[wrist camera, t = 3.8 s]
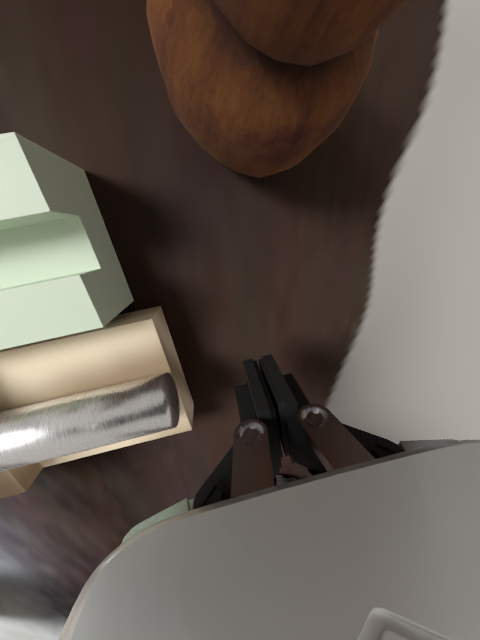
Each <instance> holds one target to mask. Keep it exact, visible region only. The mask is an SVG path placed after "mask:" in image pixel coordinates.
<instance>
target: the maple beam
mask: <svg viewBox="0 0 480 640" xmlns="http://www.w3.org/2000/svg"><path fill="white" fill-rule="evenodd" d="M163 373H170V374H171V376H172V377H173V379H174V381H175V384H176V387H177V391H178V397H179V406H180V415H179V422H178V425H177V427H176V428H173V429H169V430H165V431H161V432H157V433H153V434H149V435H145V436H141V437H137V438H133V439H129V440H125V441H121V442H118V443H114V444H110V445H106V446H102V447H98V448H94V449H90V450H86V451H82V452H78V453H74V454H70V455H66V456H62V457H58V458H54V459H50V460H46V461H42V462H38V463H34V464H31V465H27V466H23V467H19V468H15V469H11V470H7V471H3V472H0V498H4V497H8V496H12V495H16V494H19V493H23V492H26V491H27V490H28V488H29V487H30V486H31V484H32V483H33V481H34V480H35V478H36V477H37V476H38V474H39V473H40V471H41V470H42V469H43V468H44V467H48V466H52V465H56V464H59V463H63V462H67V461H71V460H75V459H79V458H83V457H87V456H91V455H95V454H99V453H103V452H106V451H110V450H114V449H118V448H122V447H126V446H130V445H134V444H138V443H142V442H146V441H150V440H154V439H157V438H161V437H165V436H169V435H173V434H177V433H181V432H185V431H189V430H192V422H193V409H194V403H193V400H192V397H191V394H190V391H189V388H188V385H187V382H186V379H185V376H184V374H183V371H182V368H181V365H180V362H179V359H178V356H177V353H176V350H175V347H174V344H173V341H172V338H171V335H170V332H169V329H168V326H167V323H166V320H165V317H164V314H163V311H162V308H161V306H157V307H153V308H148V309H144V310H139V311H134V312H130V313H125V314H121V315H117V316H116V317H114V318H113V319H112V320H111V321H110V322H109V323H108V324H106V325H105V326H104V327H102V328H97V329H93V330H88V331H84V332H79V333H75V334H70V335H66V336H61V337H56V338H52V339H47V340H43V341H38V342H34V343H29V344H25V345H20V346H16V347H11V348H6V349H2V350H0V412H3V411H7V410H11V409H15V408H19V407H24V406H28V405H32V404H36V403H41V402H45V401H49V400H53V399H57V398H62V397H66V396H70V395H74V394H79V393H83V392H87V391H91V390H96V389H100V388H104V387H108V386H112V385H117V384H121V383H125V382H129V381H134V380H138V379H142V378H146V377H150V376H155V375H159V374H163Z"/></svg>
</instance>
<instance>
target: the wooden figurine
mask: <svg viewBox="0 0 480 640" xmlns="http://www.w3.org/2000/svg"><path fill="white" fill-rule="evenodd" d="M409 1H410V0H147V19H148V24H149V29H150V34H151V38H152V43H153V47H154V50H155V54H156V57H157V61H158V64H159V68H160V71H161V75H162V78H163V82H164V85H165V89H166V92H167V95H168V98H169V101H170V104H171V107H172V110H173V111H174V113H175V114H176V116H177V117H178V119H179V120H180V122H181V123H182V124H183V126H184V127H185V128H186V130H187V131H188V132H189V133H190V135H191V136H192V137H193V138H194V140H195V141H196V142H197V144H198V145H199V146H200V147H201V148H202V149H203V150H205V151H206V152H207V153H208V154H209V155H210V156H212V157H213V158H214V159H215V160H216V161H218V162H219V163H221V164H222V165H224V166H226V167H228V168H229V169H231V170H233V171H235V172H237V173H241V174H245V175H249V176H253V177H256V178H262V177H266V176H269V175H272V174H275V173H278V172H281V171H284V170H288V169H290V168H292V167H293V166H295V165H297V164H298V163H300V162H301V161H302V160H303V159H304V158H305V157H306V156H308V155H309V154H310V153H311V152H312V151H313V150H314V149H315V148H316V147H317V146H319V145H320V144H321V143H322V142H323V141H324V140H325V139H326V138H327V137H328V136H330V135H331V134H332V133H333V132H334V131H335V130H336V129H337V128H338V127H339V125H340V124H341V122H342V121H343V119H344V118H345V116H346V115H347V113H348V111H349V110H350V108H351V106H352V104H353V102H354V101H355V99H356V97H357V95H358V93H359V91H360V89H361V87H362V85H363V83H364V82H365V80H366V78H367V76H368V74H369V72H370V69H371V65H372V61H373V57H374V52H375V48H376V44H377V39H378V35H379V31H380V27H381V26H382V25H384V24H385V23H386V22H387V21H389V20H390V19H391V18H392V17H393V16H394V15H395V14H396V13H397V12H398V11H399V10H400V9H401V8H402V7H403V6H404V5H406V4H407V3H408V2H409Z"/></svg>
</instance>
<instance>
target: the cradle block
mask: <svg viewBox="0 0 480 640" xmlns="http://www.w3.org/2000/svg"><path fill="white" fill-rule="evenodd" d="M133 301H134V300H133V297H132V294H131V292H130V289H129V287H128V284H127V281H126V279H125V276H124V273H123V271H122V268H121V266H120V263H119V260H118V258H117V255H116V252H115V250H114V247H113V245H112V242H111V239H110V237H109V234H108V231H107V229H106V226H105V224H104V221H103V218H102V216H101V213H100V211H99V208H98V205H97V203H96V200H95V197H94V195H93V192H92V190H91V187H90V184H89V182H88V179H87V176H86V174H85V171H84V170H83V169H81V168H79V167H77V166H76V165H74V164H72V163H70V162H68V161H66V160H65V159H63V158H61V157H59V156H57V155H55V154H54V153H52V152H50V151H48V150H46V149H44V148H43V147H41V146H39V145H37V144H35V143H33V142H32V141H30V140H28V139H26V138H24V137H22V136H21V135H19V134H17V133H15V132H11V133H5V134H0V350H2V349H6V348H11V347H16V346H20V345H25V344H29V343H34V342H38V341H43V340H47V339H52V338H56V337H61V336H66V335H70V334H75V333H79V332H84V331H88V330H93V329H97V328H102V327H104V326H105V325H106V324H108V323H109V322H110V321H111V320H112V319H113V318H114V317H116V316H117V315H118V314H119V313H120V312H121V311H123V310H124V309H125V308H126V307H127V306H128V305H129V304H131V303H132V302H133Z"/></svg>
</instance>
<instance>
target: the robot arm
mask: <svg viewBox="0 0 480 640" xmlns="http://www.w3.org/2000/svg"><path fill="white" fill-rule="evenodd" d="M259 364H260V369H259V366H258V364H257V361H253V360H252V359H249V360H245V361H243V365H244V370H245V375H246V379H247V384H245V385H240V386H236V387H235V392H236V397H237V403H238V409H239V415H240V420H241V423H240V424H239V425H238V426H237V427H236V429H235V432H234V440H233V447H232V448H231V449H230V451H229V452H228V453H227V454H226V456H225V457H224V458H223V460H222V461H221V462H220V463H219V465H218V466H217V467H216V469H215V470H214V471H213V472H212V474H211V475H210V476H209V478H208V479H207V480H206V481H205V483H204V484H203V485H202V487H201V488H200V489H199V491H198V492H197V494H196V496H195V498H193V499H191V500H189V501H188V500H187V498H186V499H184V500H182V501H181V502H179V503H177V504H175V505H173V506H171V507H169V508H167V509H166V510H164V511H162V512H160V513H158V514H156V515H154V516H152V517H150V518H149V519H147V520H145V521H143V522H141V523H139V524H137V525H136V526H135V527H133V528H132V529H131V530H130V531H129V532H128V533H127V535H126V536H125V537H124V539H123V541H122V543H121V545H120V546H119V547H118V548H116V549H115V550H114V551H113V552H112V553H111V554H110V555H108V556H107V557H106V558H105V559H104V560H103V561H102V562H101V563H100V565H99V566H98V567H97V568H96V569H95V570H94V572H93V573H92V574H91V576H90V577H89V579H88V580H87V582H86V584H85V585H84V587H83V589H82V590H81V592H80V594H79V596H78V598H77V600H76V602H75V604H74V606H73V608H72V610H71V612H70V615H69V617H68V619H67V621H66V623H65V626H64V628H63V630H62V633H61V635H60V637H59V640H480V440H461V441H458V440H419V441H400V443H399V444H395V443H393V442H391V441H389V440H387V439H384V438H381V437H379V436H376V435H373V434H370V433H367V432H365V431H362V430H358V429H356V428H353V427H350V426H348V425H345V424H342V423H341V422H340V421H339V420H338V419H337V418H336V417H335V416H334V415H333V414H332V413H331V412H330V411H329V410H328V409H327V408H326V407H323V406H321V405H317V404H310V403H309V401H308V400H307V398H306V396H305V395H304V393H303V391H302V390H301V388H300V387H299V385H298V383H297V382H296V380H295V378H294V377H293V375H292V374H291V373H290V374H286V375H282V373H281V371H280V369H279V368H278V366H277V364H276V362H275V360H274V358H273V356H272V355H271V354H270V355H266V356H262V359H260V360H259ZM260 370H261V372H260ZM280 441H281V444H282V447H283V450H284V453H285V455H286V456H289V455H290V457H291V460H292V462H293V463H294V462H296V463H298V464H300V465H302V466H304V470H305V473H306V475H307V476H308V477H307V478H303V479H300V480H296V481H292V482H289V483H285V484H281V485H277V478H276V476H277V474H278V472H279V470H280V468H281V467H282V464H281V457H283V456H282V450H281V444H280Z"/></svg>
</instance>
